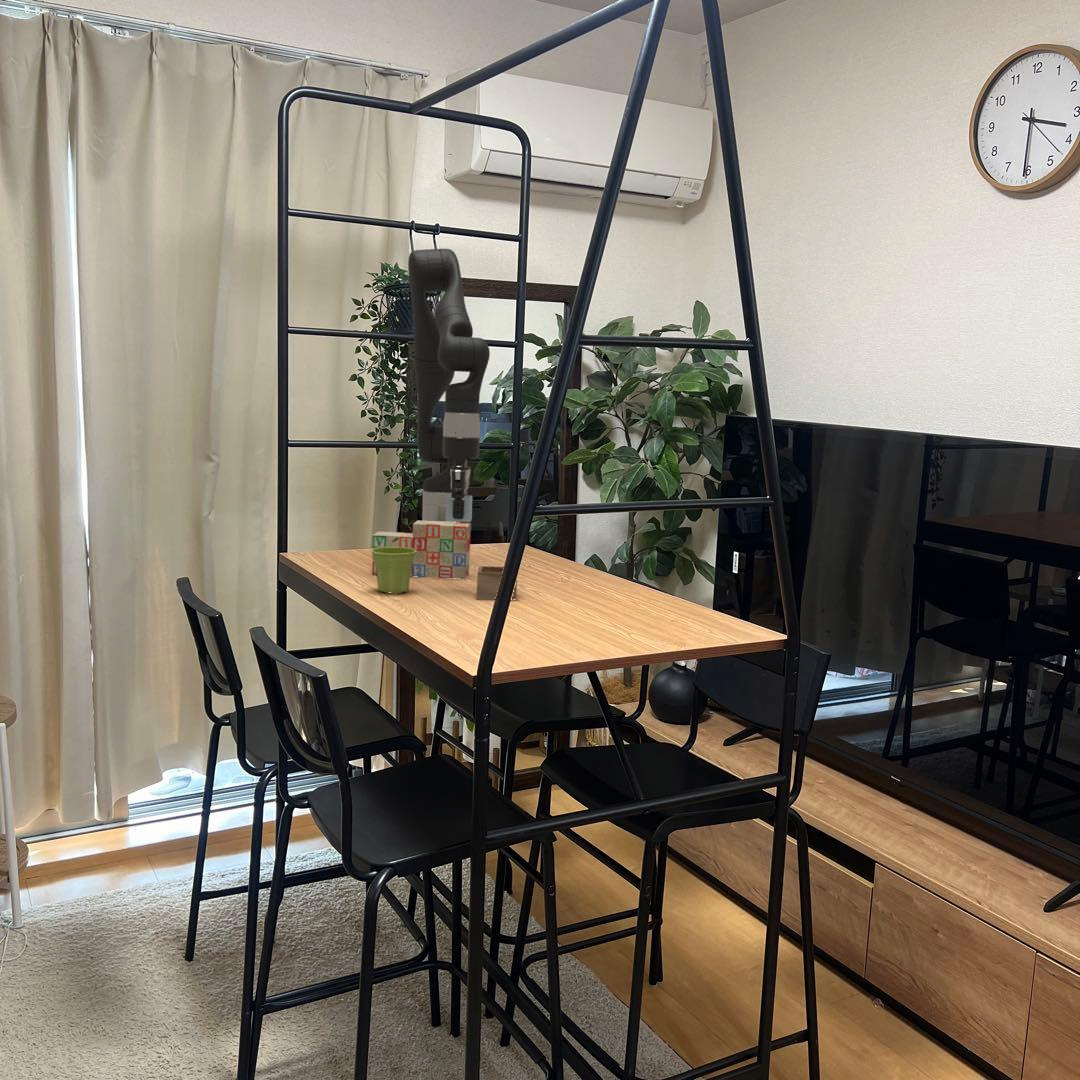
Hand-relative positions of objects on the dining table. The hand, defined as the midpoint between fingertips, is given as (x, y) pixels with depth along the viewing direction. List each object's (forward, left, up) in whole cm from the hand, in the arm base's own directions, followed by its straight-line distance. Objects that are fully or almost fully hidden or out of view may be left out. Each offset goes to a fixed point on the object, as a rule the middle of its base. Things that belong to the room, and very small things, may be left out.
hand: (459, 516), depth 218 cm
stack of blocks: (-18, -9, -16) cm, 26 cm away
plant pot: (+3, -13, -16) cm, 21 cm away
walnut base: (+4, +8, -16) cm, 18 cm away
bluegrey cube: (0, 0, -1) cm, 1 cm away
